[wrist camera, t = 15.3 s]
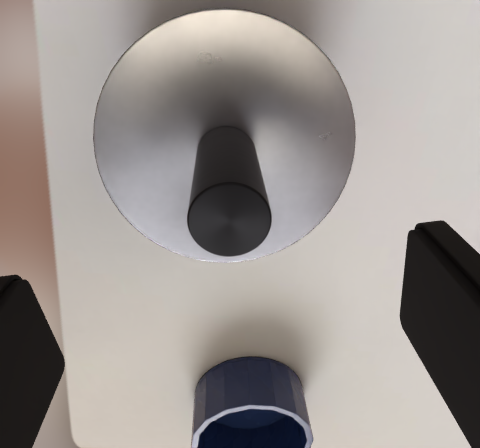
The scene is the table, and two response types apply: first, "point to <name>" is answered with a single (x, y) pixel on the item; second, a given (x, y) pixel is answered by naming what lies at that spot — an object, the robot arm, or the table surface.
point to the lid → (224, 135)
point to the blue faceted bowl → (250, 407)
